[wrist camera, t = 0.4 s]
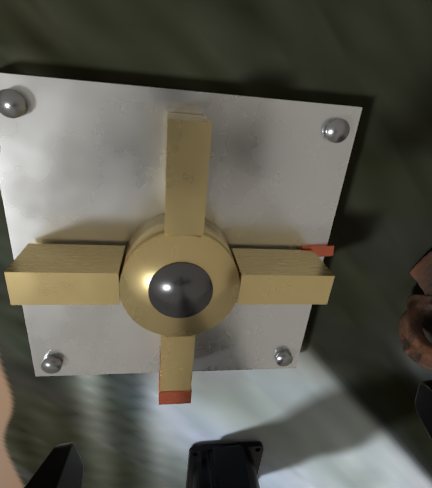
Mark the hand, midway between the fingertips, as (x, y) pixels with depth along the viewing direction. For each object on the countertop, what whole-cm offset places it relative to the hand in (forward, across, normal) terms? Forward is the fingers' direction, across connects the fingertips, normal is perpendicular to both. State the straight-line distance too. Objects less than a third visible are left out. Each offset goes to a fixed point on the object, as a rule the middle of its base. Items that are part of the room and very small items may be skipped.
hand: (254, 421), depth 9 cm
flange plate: (+13, +2, +1) cm, 13 cm away
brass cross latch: (+12, +2, +1) cm, 12 cm away
